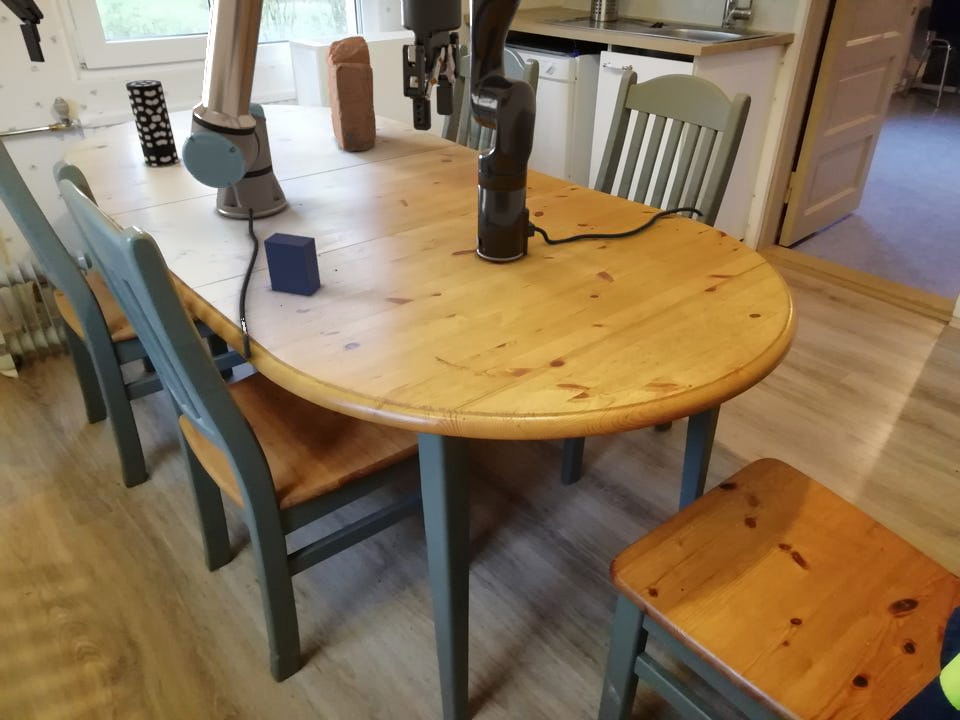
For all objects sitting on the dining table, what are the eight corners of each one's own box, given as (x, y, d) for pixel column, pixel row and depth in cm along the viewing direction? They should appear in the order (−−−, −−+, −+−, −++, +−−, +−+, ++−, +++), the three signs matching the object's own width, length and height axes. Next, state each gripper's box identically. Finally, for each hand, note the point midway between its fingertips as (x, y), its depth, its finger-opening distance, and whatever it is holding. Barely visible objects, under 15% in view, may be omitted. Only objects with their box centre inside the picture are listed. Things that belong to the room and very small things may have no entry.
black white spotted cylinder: (184, 157, 190) (167, 80, 179) (169, 166, 183) (151, 87, 172) (155, 156, 190) (136, 79, 179) (139, 165, 183) (119, 86, 172)
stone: (383, 150, 197) (374, 42, 182) (343, 153, 194) (332, 44, 179) (369, 134, 214) (360, 34, 200) (332, 137, 211) (321, 36, 197)
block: (283, 280, 127) (275, 232, 122) (320, 286, 125) (314, 237, 120) (271, 290, 124) (263, 240, 118) (310, 296, 122) (303, 246, 117)
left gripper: (9, -68, 128) (46, 55, 140) (-126, -66, 108) (-70, 77, 120) (41, -67, 127) (76, 58, 138) (-90, -65, 106) (-37, 81, 118)
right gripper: (423, -19, 91) (427, 108, 100) (378, -11, 80) (387, 132, 88) (477, -17, 89) (476, 112, 98) (438, -8, 78) (441, 137, 87)
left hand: (8, 67), depth 129 cm, fingers open, 13 cm apart
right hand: (434, 121), depth 93 cm, fingers open, 8 cm apart
